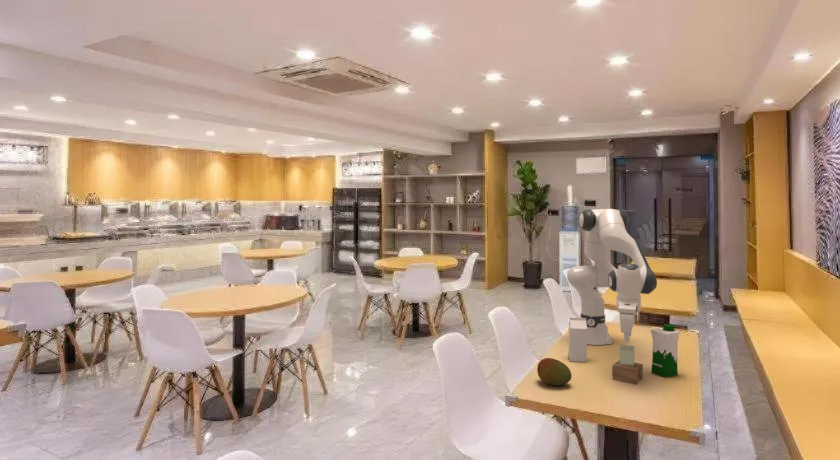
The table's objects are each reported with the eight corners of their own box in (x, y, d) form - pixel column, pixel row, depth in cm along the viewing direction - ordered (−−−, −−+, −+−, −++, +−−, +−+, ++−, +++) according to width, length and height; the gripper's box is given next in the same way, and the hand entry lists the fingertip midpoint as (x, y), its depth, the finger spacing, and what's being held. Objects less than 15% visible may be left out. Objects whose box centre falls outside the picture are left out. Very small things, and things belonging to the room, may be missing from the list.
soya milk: (681, 375, 197) (682, 327, 197) (665, 378, 194) (666, 329, 193) (662, 369, 205) (663, 322, 205) (647, 372, 202) (648, 324, 201)
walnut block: (619, 374, 200) (619, 359, 200) (642, 378, 195) (642, 363, 194) (612, 380, 193) (612, 365, 193) (636, 385, 188) (636, 369, 187)
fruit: (534, 378, 194) (534, 354, 194) (566, 379, 194) (566, 354, 194) (541, 389, 183) (541, 363, 182) (574, 389, 182) (575, 363, 182)
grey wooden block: (620, 361, 198) (620, 344, 197) (634, 363, 195) (634, 345, 195) (619, 365, 193) (619, 347, 193) (633, 367, 191) (634, 349, 190)
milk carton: (586, 362, 215) (587, 319, 214) (570, 361, 216) (570, 319, 216) (584, 357, 222) (585, 316, 221) (568, 356, 223) (568, 315, 222)
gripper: (622, 299, 203) (621, 331, 204) (617, 308, 185) (616, 344, 186) (638, 300, 201) (637, 333, 201) (635, 310, 182) (634, 346, 183)
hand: (627, 338), depth 194 cm, fingers open, 8 cm apart
